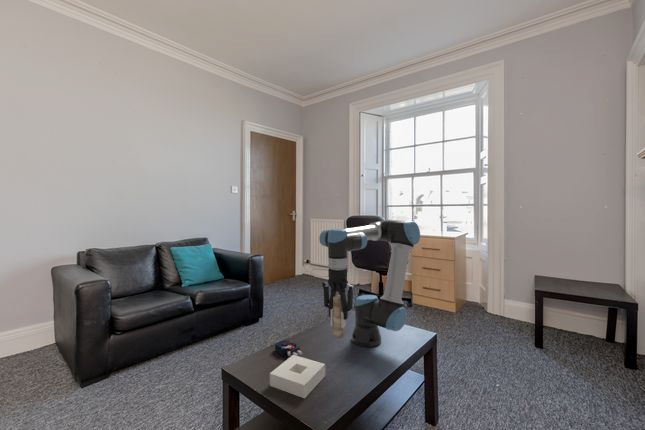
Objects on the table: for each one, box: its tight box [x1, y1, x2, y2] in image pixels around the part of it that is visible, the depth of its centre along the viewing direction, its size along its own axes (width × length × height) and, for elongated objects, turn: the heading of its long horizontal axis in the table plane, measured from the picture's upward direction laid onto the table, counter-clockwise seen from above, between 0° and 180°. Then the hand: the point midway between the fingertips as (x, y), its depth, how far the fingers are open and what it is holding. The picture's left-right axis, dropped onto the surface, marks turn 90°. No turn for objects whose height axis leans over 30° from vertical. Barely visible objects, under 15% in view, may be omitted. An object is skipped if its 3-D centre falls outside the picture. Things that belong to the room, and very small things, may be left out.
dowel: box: [332, 294, 344, 339], centre depth 117 cm, size 4×4×16 cm
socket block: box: [269, 355, 326, 399], centre depth 117 cm, size 16×16×5 cm
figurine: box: [274, 339, 303, 357], centre depth 139 cm, size 9×4×15 cm
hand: (338, 325), depth 117 cm, fingers closed on dowel, 4 cm apart
